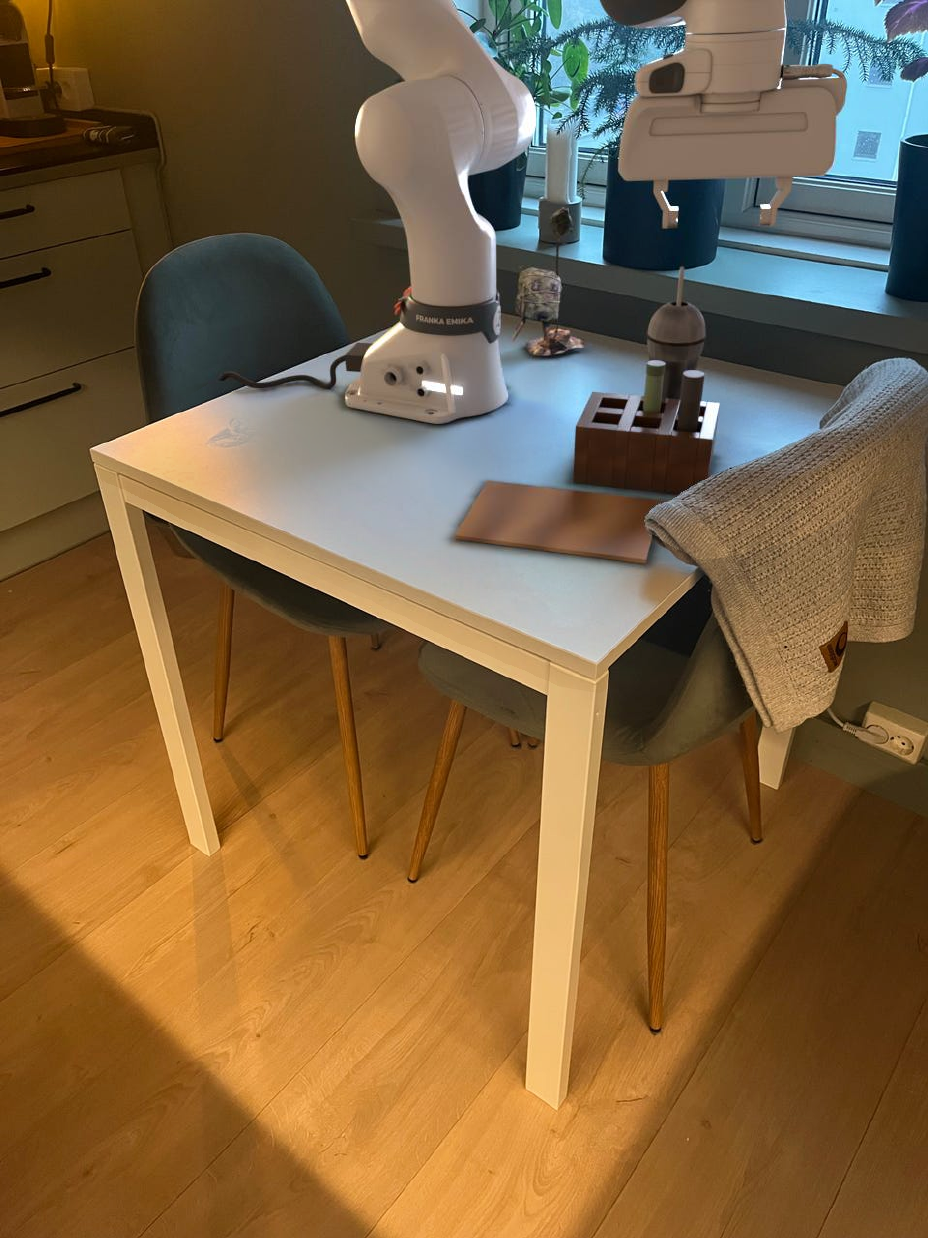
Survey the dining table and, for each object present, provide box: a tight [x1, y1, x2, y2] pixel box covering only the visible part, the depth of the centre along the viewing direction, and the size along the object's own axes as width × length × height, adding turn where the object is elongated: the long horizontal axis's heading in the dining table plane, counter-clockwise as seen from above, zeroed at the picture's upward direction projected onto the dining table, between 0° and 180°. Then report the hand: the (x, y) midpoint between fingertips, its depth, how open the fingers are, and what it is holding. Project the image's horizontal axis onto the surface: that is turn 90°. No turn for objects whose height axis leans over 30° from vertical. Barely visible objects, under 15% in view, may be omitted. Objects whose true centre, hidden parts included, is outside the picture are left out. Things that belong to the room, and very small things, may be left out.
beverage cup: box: [645, 266, 707, 399], centre depth 118 cm, size 7×7×20 cm
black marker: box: [677, 370, 705, 433], centre depth 107 cm, size 2×2×13 cm
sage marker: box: [643, 360, 666, 413], centre depth 111 cm, size 2×2×12 cm
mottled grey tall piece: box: [511, 207, 585, 357], centre depth 142 cm, size 8×11×20 cm
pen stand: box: [572, 391, 721, 495], centre depth 111 cm, size 15×10×7 cm
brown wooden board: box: [454, 480, 663, 565], centre depth 103 cm, size 20×13×1 cm, turn 73°
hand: (717, 226), depth 96 cm, fingers open, 8 cm apart
